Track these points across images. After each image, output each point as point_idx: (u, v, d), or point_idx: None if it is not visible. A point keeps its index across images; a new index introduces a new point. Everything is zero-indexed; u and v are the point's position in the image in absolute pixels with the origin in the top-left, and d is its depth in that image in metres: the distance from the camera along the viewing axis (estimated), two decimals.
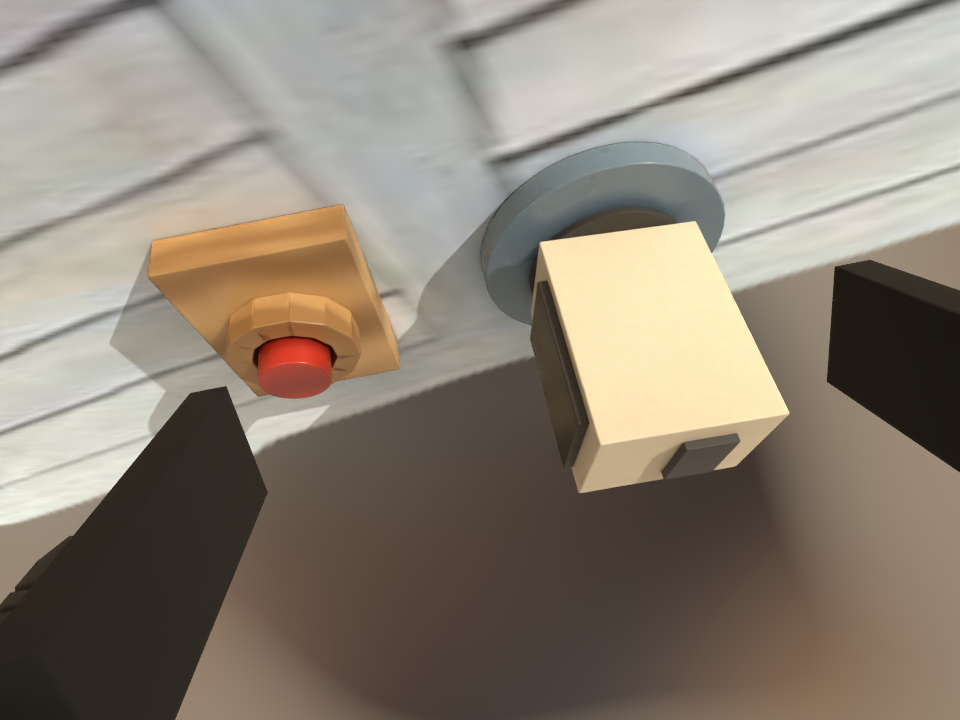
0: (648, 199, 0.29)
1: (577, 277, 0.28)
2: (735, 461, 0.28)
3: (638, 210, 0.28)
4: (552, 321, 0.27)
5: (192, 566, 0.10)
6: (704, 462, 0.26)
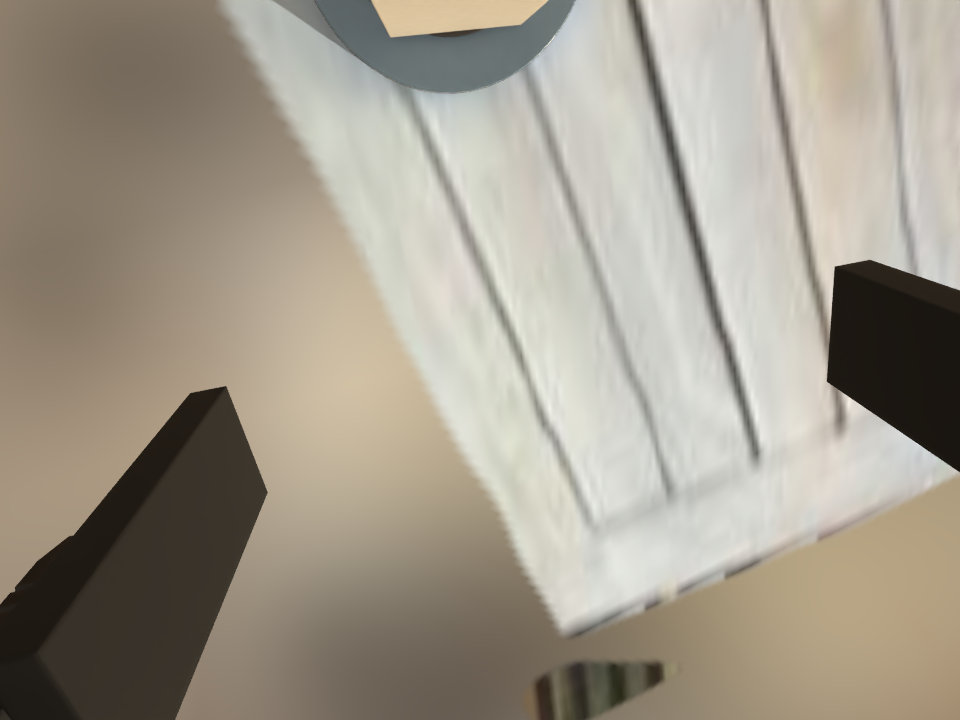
0: None
1: None
2: None
3: None
4: None
5: (192, 566, 0.10)
6: None
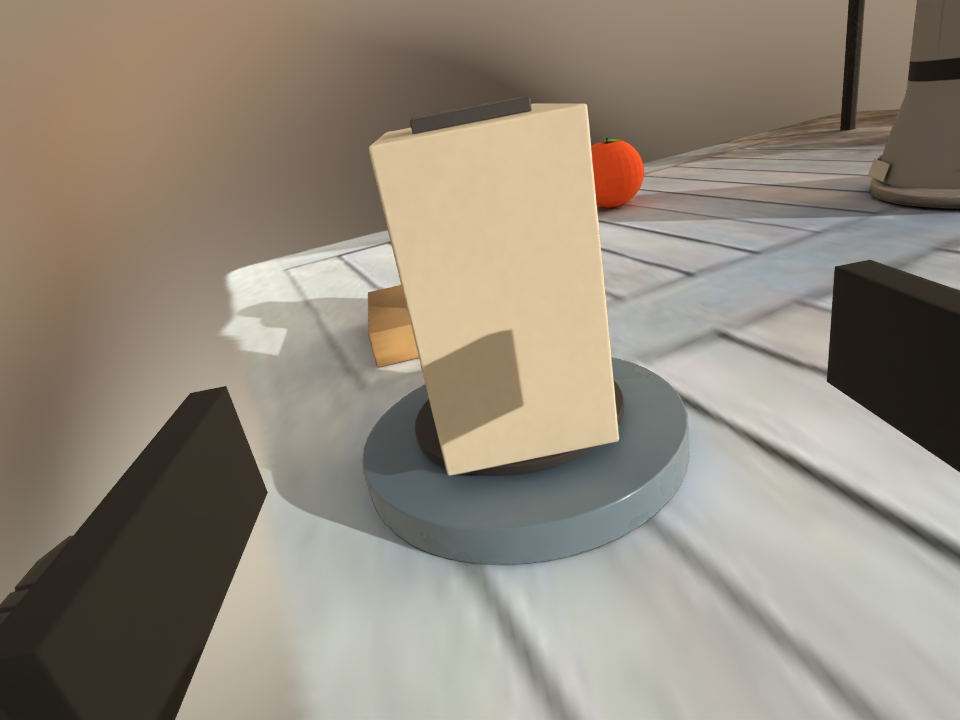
0: (629, 417, 0.23)
1: None
2: (399, 139, 0.16)
3: (622, 396, 0.23)
4: None
5: (192, 566, 0.10)
6: (461, 109, 0.18)
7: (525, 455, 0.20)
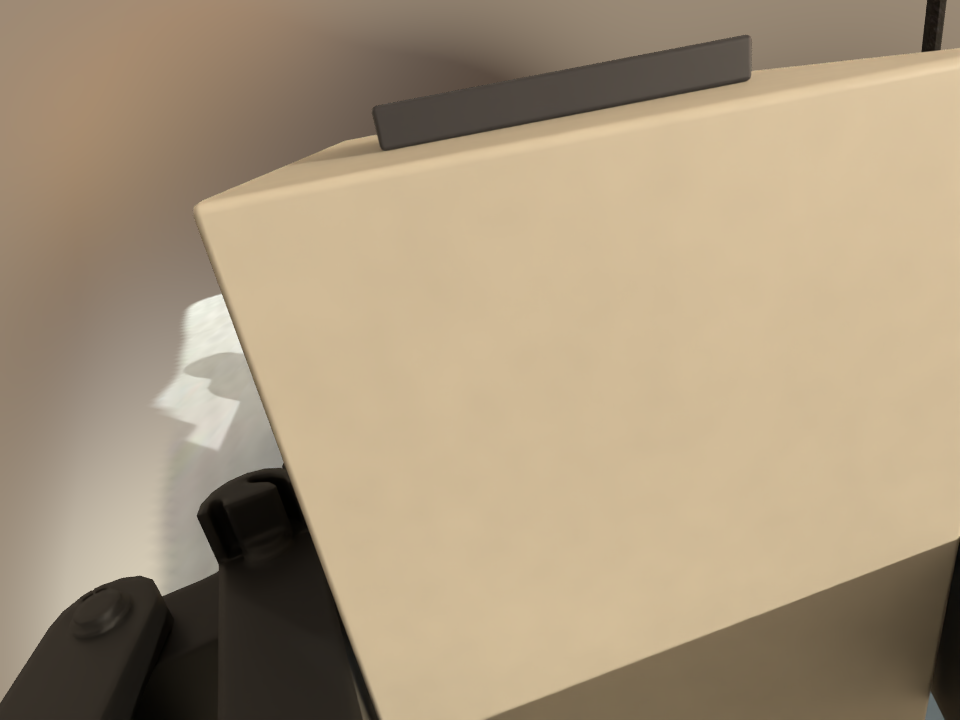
0: None
1: None
2: (320, 175, 0.04)
3: None
4: None
5: None
6: None
7: None
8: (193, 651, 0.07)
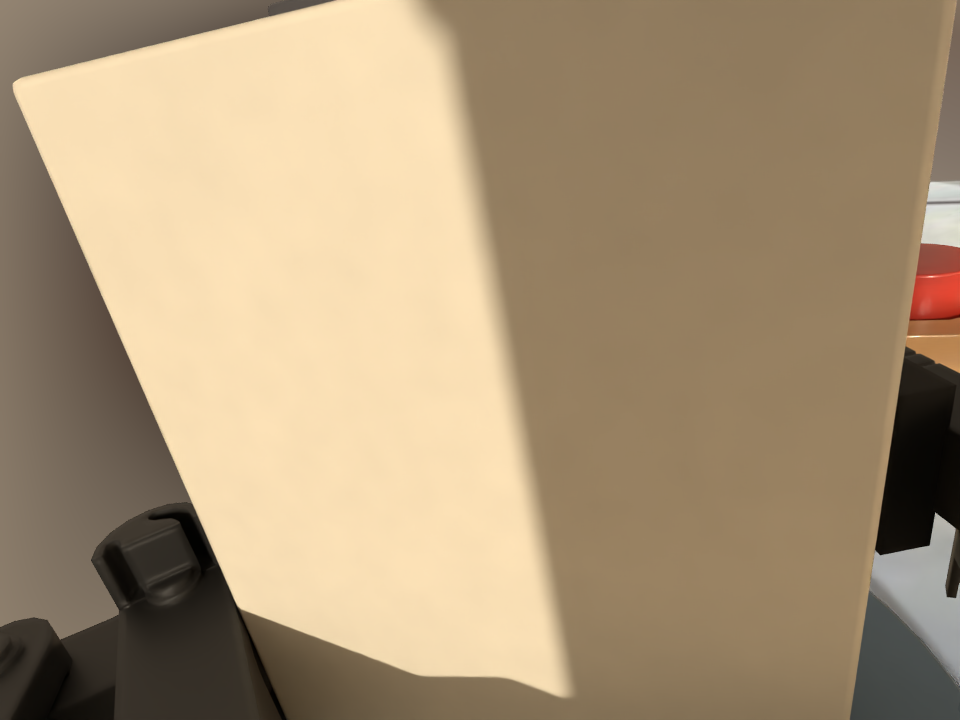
0: None
1: None
2: None
3: None
4: None
5: None
6: None
7: None
8: (86, 700, 0.07)
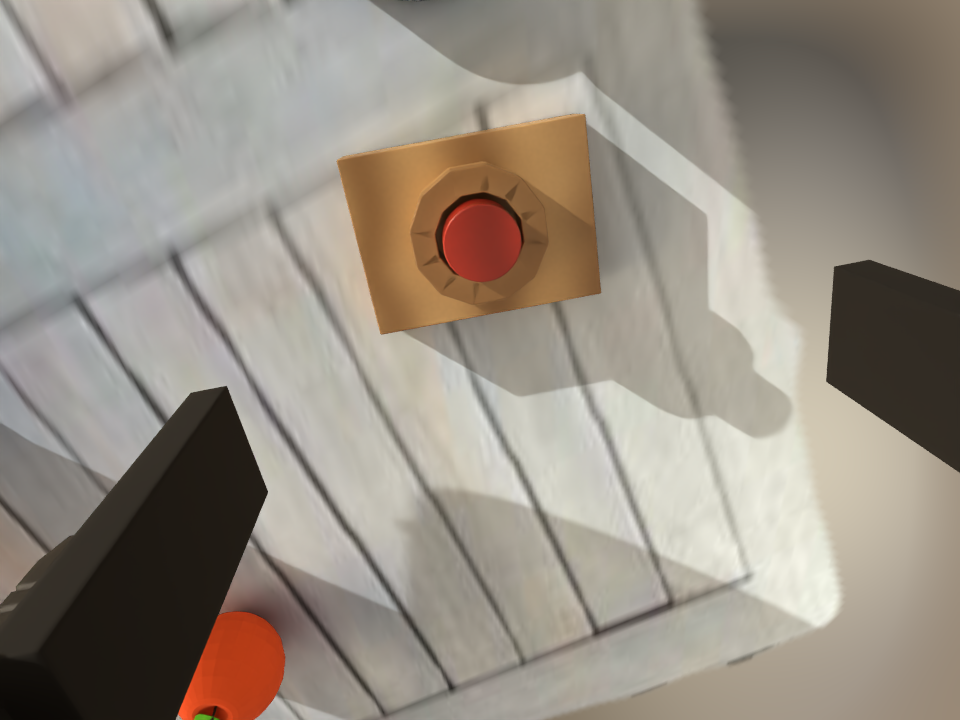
0: None
1: None
2: None
3: None
4: None
5: (193, 566, 0.10)
6: None
7: None
8: None
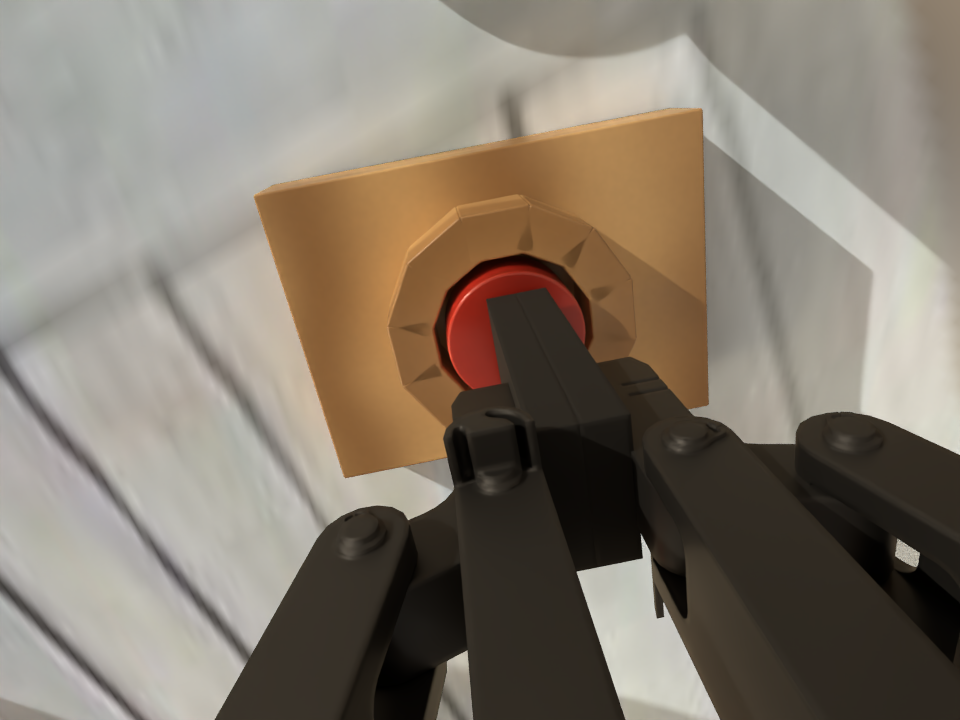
0: None
1: None
2: None
3: None
4: None
5: None
6: None
7: None
8: (445, 571, 0.07)
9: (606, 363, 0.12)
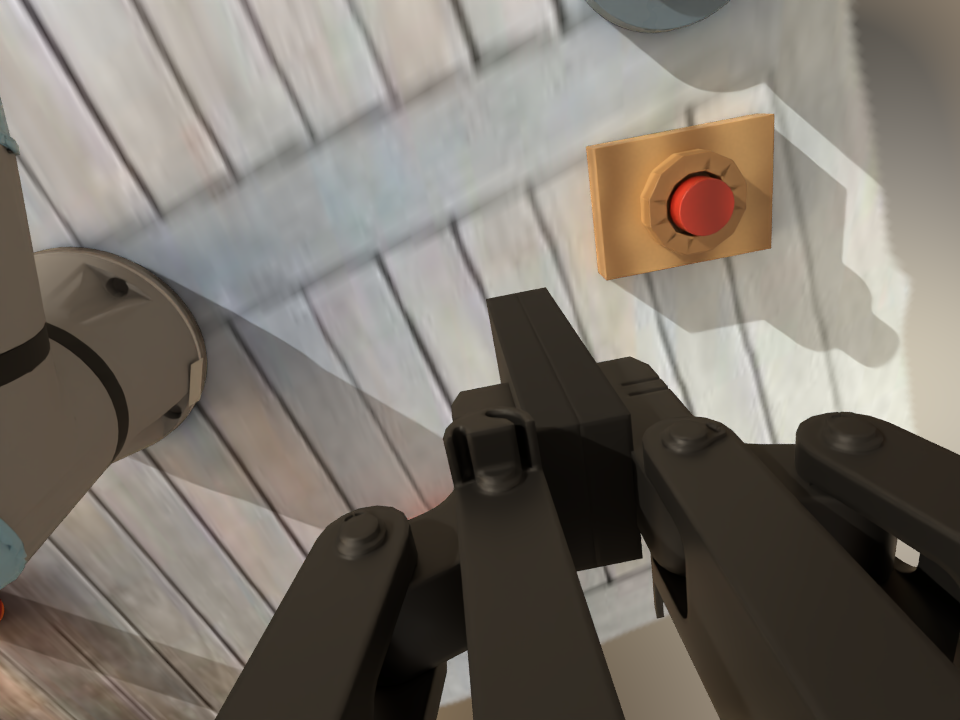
0: None
1: None
2: None
3: None
4: None
5: None
6: None
7: None
8: (446, 571, 0.07)
9: (606, 364, 0.12)
